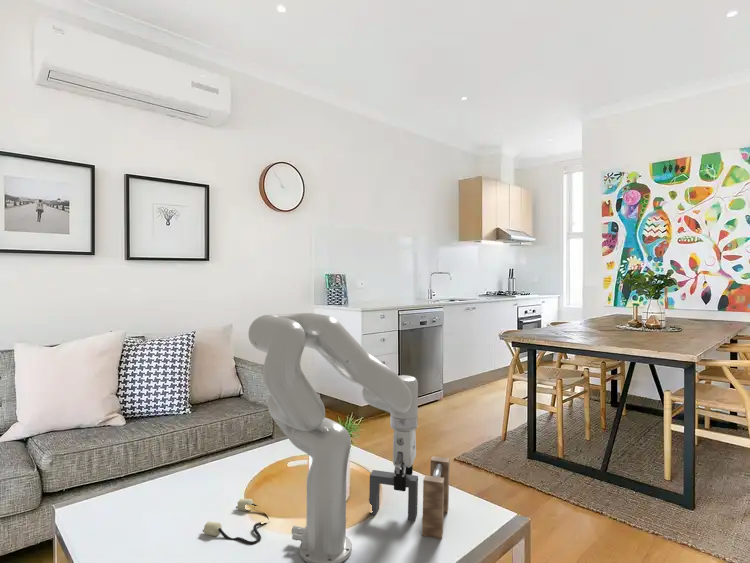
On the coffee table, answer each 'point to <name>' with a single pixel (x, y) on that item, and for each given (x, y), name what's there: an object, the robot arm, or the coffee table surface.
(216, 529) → the cable
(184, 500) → the coffee table surface
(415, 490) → the grey channel bracket
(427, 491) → the hook stand
